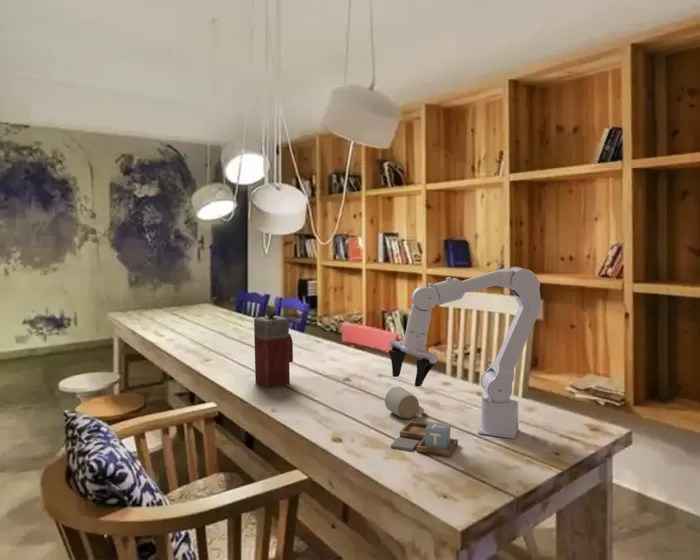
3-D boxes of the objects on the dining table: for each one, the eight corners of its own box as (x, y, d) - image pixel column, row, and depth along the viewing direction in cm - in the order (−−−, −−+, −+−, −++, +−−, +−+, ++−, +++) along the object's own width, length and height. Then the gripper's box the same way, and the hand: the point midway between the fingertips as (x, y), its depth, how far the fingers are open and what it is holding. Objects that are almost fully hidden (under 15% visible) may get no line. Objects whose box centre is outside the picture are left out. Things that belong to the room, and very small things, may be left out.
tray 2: (457, 444, 134) (457, 439, 133) (450, 457, 126) (450, 451, 126) (426, 439, 137) (426, 434, 137) (416, 452, 129) (416, 446, 129)
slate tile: (418, 442, 135) (418, 440, 135) (412, 451, 130) (412, 448, 130) (398, 439, 137) (397, 437, 137) (390, 447, 132) (390, 445, 132)
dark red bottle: (295, 383, 188) (294, 304, 186) (267, 389, 181) (265, 307, 179) (282, 377, 195) (281, 301, 193) (255, 383, 189) (253, 304, 186)
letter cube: (450, 444, 133) (450, 424, 132) (445, 452, 128) (445, 431, 128) (430, 441, 135) (430, 421, 134) (424, 448, 130) (425, 428, 130)
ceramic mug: (399, 422, 150) (399, 395, 149) (384, 413, 157) (384, 387, 156) (430, 416, 154) (430, 390, 154) (414, 408, 162) (414, 383, 161)
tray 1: (438, 430, 143) (438, 425, 143) (430, 441, 136) (430, 436, 136) (409, 426, 146) (409, 421, 146) (399, 436, 139) (399, 431, 139)
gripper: (386, 324, 143) (376, 373, 144) (430, 339, 133) (419, 391, 134) (402, 324, 148) (393, 371, 149) (446, 339, 138) (435, 389, 140)
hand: (406, 381), depth 142 cm, fingers open, 7 cm apart
